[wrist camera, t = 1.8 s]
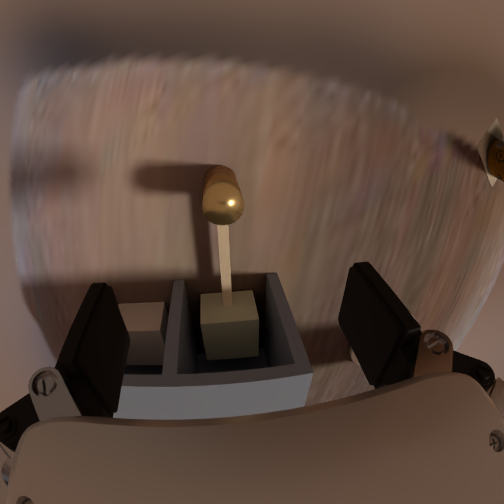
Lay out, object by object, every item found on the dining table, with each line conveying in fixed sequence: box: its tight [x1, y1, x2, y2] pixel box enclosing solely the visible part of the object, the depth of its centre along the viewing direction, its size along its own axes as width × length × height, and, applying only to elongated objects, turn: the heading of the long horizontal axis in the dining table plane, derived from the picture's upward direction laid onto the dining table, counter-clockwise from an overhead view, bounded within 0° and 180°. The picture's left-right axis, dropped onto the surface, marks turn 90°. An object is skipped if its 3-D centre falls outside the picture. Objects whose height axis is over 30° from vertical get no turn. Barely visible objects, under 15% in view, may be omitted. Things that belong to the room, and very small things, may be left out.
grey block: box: [118, 302, 168, 365], centre depth 31 cm, size 6×6×5 cm
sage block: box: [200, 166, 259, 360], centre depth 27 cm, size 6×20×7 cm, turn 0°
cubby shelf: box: [113, 273, 314, 420], centre depth 28 cm, size 22×14×14 cm, turn 90°
